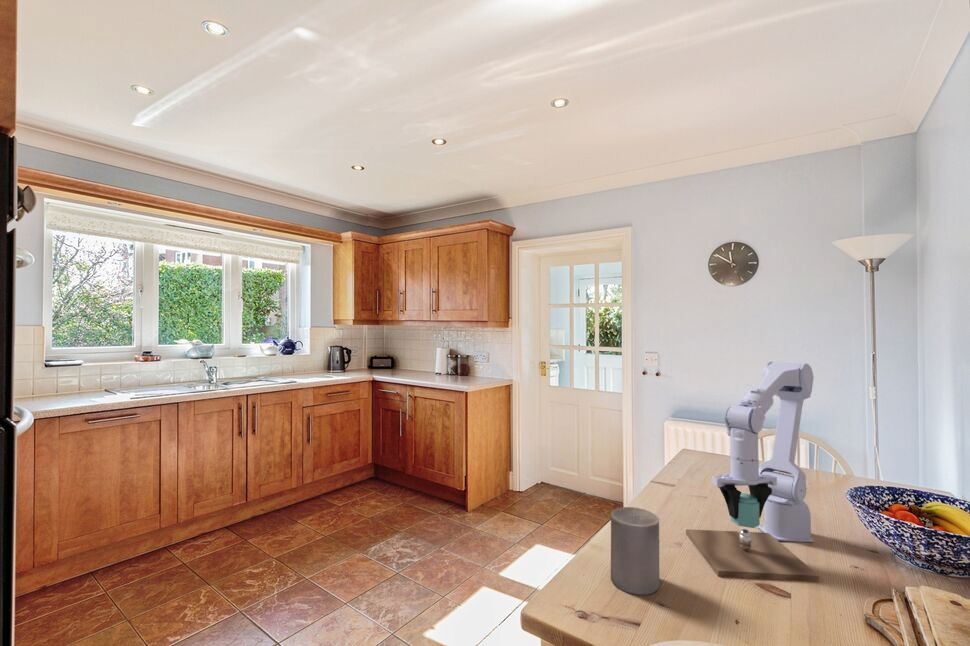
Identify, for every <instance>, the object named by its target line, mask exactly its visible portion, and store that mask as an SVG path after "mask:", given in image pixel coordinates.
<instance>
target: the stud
mask: <svg viewBox="0 0 970 646" xmlns="http://www.w3.org/2000/svg"><path fill="white" fill-rule="evenodd" d="M738 532H739V544H740V546H741V548H742V549H744V550H749V549H750V548H751V533H750V532H751V531H749V529H746V528H742V529H740V530H739V531H738Z"/></svg>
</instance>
